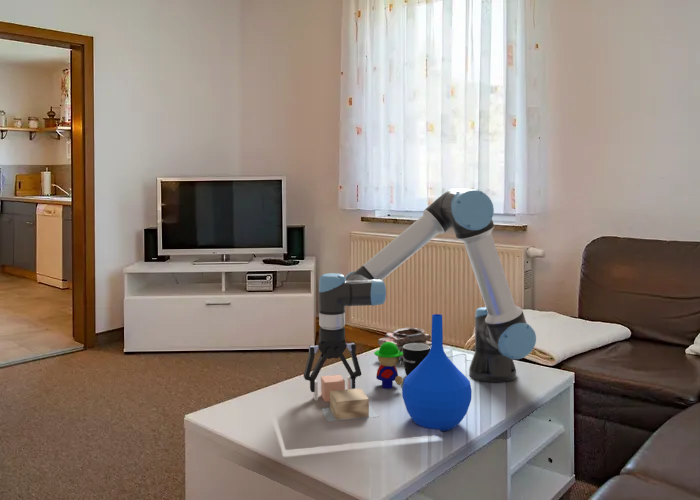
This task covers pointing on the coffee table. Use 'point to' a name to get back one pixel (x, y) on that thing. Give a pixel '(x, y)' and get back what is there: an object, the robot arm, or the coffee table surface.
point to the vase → (436, 387)
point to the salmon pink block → (331, 385)
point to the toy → (389, 364)
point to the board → (331, 417)
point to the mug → (414, 355)
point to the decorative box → (406, 337)
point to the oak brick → (349, 404)
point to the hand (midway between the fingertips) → (332, 400)
